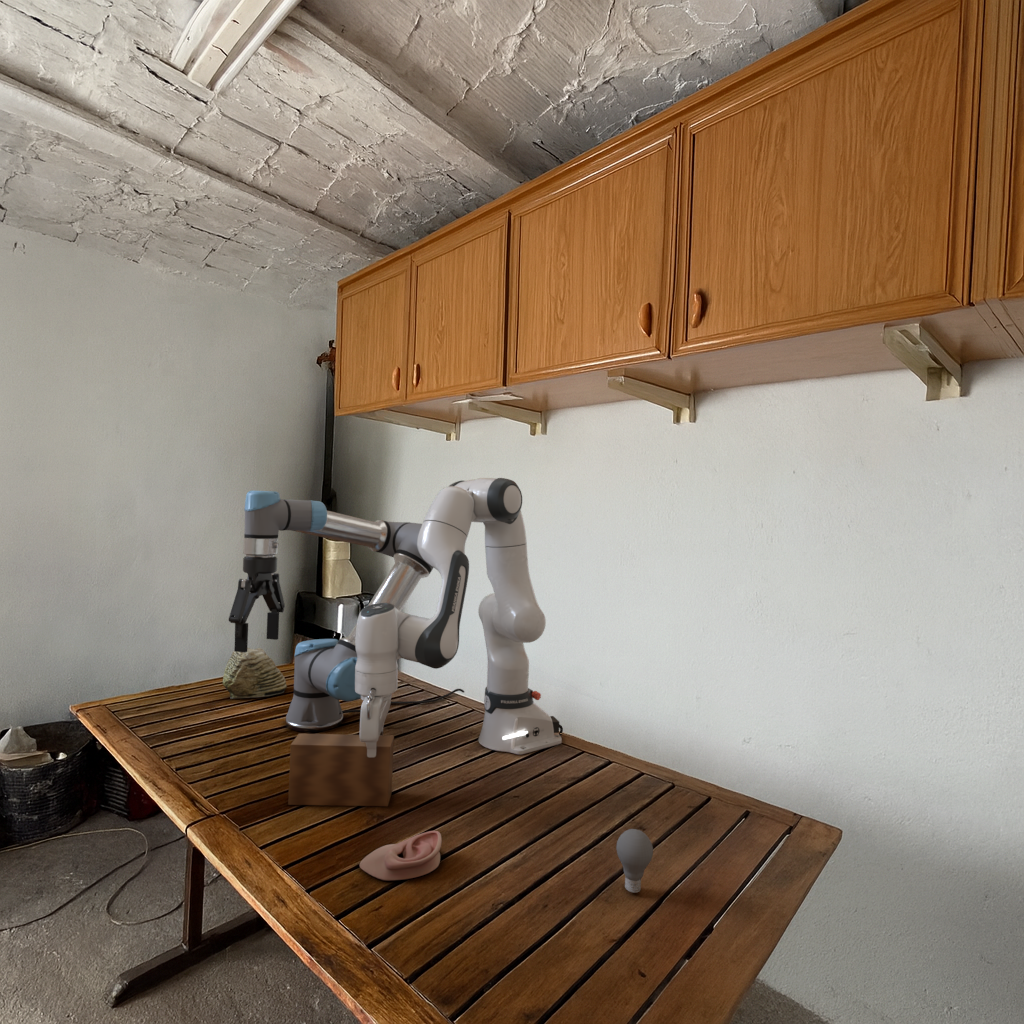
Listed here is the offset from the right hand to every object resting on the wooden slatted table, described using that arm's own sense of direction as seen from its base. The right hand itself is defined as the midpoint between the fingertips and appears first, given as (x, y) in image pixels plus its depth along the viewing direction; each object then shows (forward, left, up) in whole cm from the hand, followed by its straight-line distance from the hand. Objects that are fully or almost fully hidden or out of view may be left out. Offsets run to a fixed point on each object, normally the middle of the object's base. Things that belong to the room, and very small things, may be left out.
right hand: (375, 746), depth 134 cm
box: (+6, -3, -11) cm, 13 cm away
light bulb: (-31, +48, -11) cm, 58 cm away
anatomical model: (+2, +25, -11) cm, 28 cm away
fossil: (+16, -81, -11) cm, 83 cm away
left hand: (+21, -30, +16) cm, 40 cm away
